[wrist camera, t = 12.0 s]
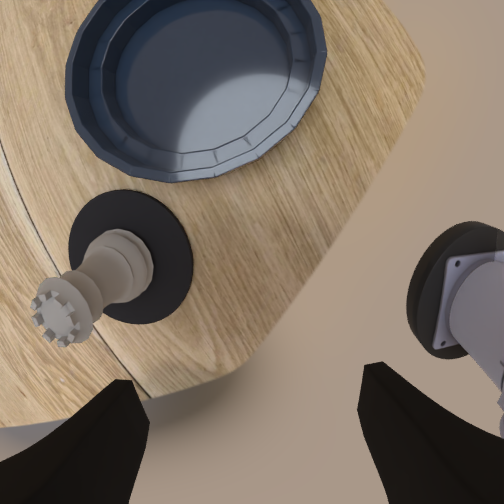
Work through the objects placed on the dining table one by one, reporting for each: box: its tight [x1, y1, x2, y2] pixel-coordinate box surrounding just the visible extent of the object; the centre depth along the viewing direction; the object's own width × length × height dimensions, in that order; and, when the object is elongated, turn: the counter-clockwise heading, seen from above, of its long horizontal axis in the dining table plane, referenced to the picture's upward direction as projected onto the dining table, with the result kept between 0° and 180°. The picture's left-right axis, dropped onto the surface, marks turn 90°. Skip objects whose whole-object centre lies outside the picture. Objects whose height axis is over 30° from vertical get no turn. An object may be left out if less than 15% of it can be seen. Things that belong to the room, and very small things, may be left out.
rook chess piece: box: [30, 229, 153, 347], centre depth 14 cm, size 4×4×8 cm
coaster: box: [68, 190, 193, 324], centre depth 18 cm, size 9×9×1 cm
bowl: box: [65, 0, 327, 183], centre depth 13 cm, size 13×13×4 cm
